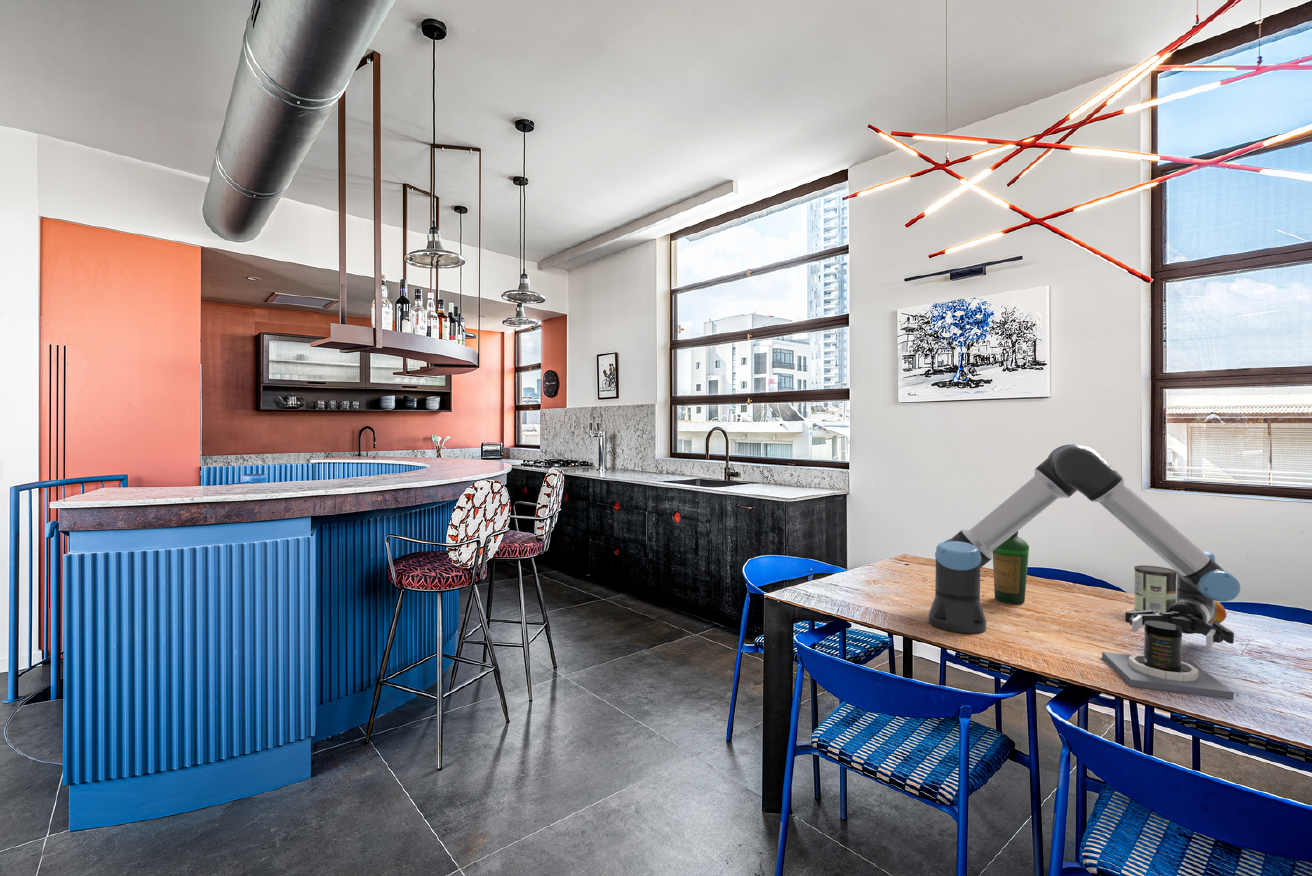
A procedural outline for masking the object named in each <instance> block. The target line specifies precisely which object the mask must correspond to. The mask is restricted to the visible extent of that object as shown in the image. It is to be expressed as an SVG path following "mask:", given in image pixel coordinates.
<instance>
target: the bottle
mask: <svg viewBox="0 0 1312 876" xmlns="http://www.w3.org/2000/svg"><path fill="white" fill-rule="evenodd" d="M1029 553H1030V546H1029V543H1027V541H1026V540H1025V539H1023V538H1022V537H1020V536H1019V530H1018V531H1017V532H1016V533H1015V534H1013V535H1012V536H1011V537H1010V538H1009V539H1007V540H1006V541H1005V542H1004V543H1002V544H1001V545H1000V546H999V547H997V548H996V549H995V550H994V551H993V552H992V566H993V567H992V568H993V586H994V587H993V588H994V599H995V600H997V601H998V602H1001V603H1004V604H1009V605H1022V604H1024V603H1025V601H1026V600H1025V599H1026V591H1027V590H1026V589H1027V578H1028V565H1029V556H1030V555H1029Z"/></svg>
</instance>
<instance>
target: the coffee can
mask: <svg viewBox="0 0 1312 876" xmlns="http://www.w3.org/2000/svg"><path fill="white" fill-rule="evenodd" d="M1133 599H1134V609H1133V611H1143V610H1149V609H1154V610H1155V611H1156V613H1158V614H1159V613H1160V612H1167V610H1168V609H1169V608H1170V607H1171V606H1172V605H1173V604H1174V603H1176V602H1177V571H1176V570H1175V569H1173V568H1168V567H1164V566H1163V567H1162V566H1157V565H1156V566H1155V565H1145V564H1144V565H1135V566H1134V598H1133Z"/></svg>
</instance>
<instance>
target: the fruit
mask: <svg viewBox="0 0 1312 876" xmlns="http://www.w3.org/2000/svg"><path fill="white" fill-rule="evenodd" d="M1214 603H1215V605H1216V614H1215V616H1214V617H1213V618H1212V619H1211V620H1210V621H1209V622H1208V623H1211V622H1213V621H1218V622H1220V624H1221V623H1223V622H1224V621H1225V620H1226V618H1227V611H1226V609H1225V607H1224V605H1222V604H1221V602H1219V601H1215V600H1214Z"/></svg>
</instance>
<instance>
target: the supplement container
mask: <svg viewBox="0 0 1312 876" xmlns="http://www.w3.org/2000/svg"><path fill="white" fill-rule="evenodd" d="M1143 626H1144V628H1143V629H1144V630H1143V631H1144V639H1143V641H1144V644H1143V654H1144V665H1146V666H1148V667H1151V668H1155V669H1159V670H1163V671H1169V672H1178V673H1180V672H1181V660H1182V657H1183V656H1182V654H1183V653H1182V652H1183V651H1182V650H1183V649H1182V648H1183V647H1182V646H1183V643H1182V642H1183V633H1182V627H1180V626H1178V625H1175V624H1171V623H1166V622H1160V621H1145V625H1143Z"/></svg>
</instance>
